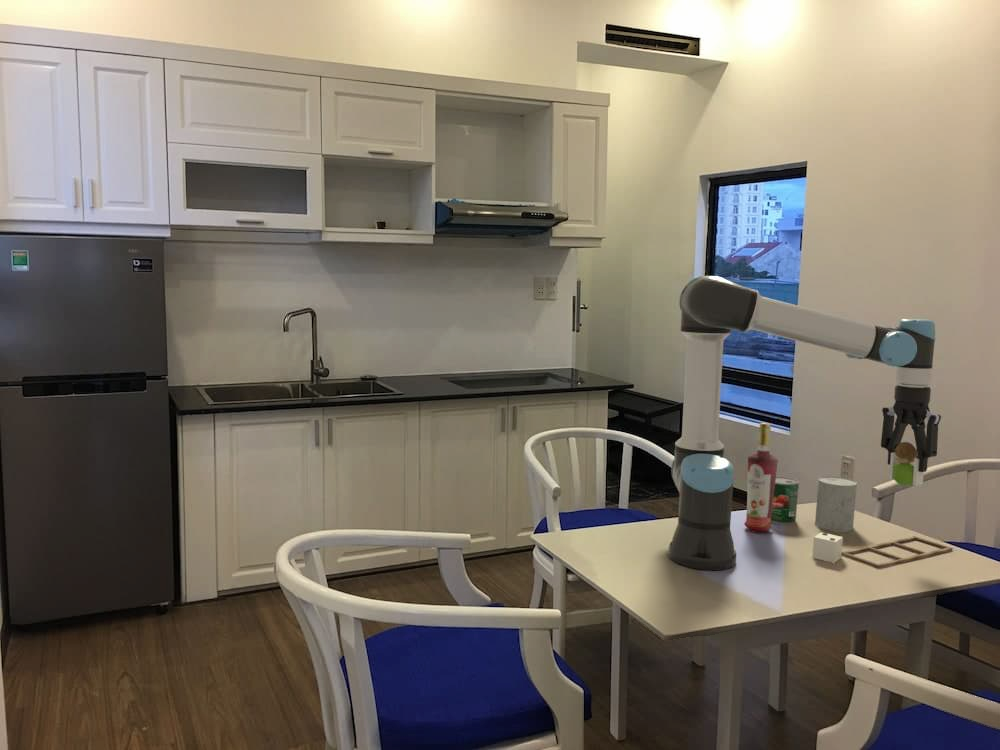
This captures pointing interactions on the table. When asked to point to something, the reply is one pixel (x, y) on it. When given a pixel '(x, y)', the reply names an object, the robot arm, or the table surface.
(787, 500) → the canned tomato
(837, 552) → the die
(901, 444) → the snail figurine
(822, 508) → the grey cylinder
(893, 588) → the table surface
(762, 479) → the liquor
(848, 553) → the wooden ladder frame
